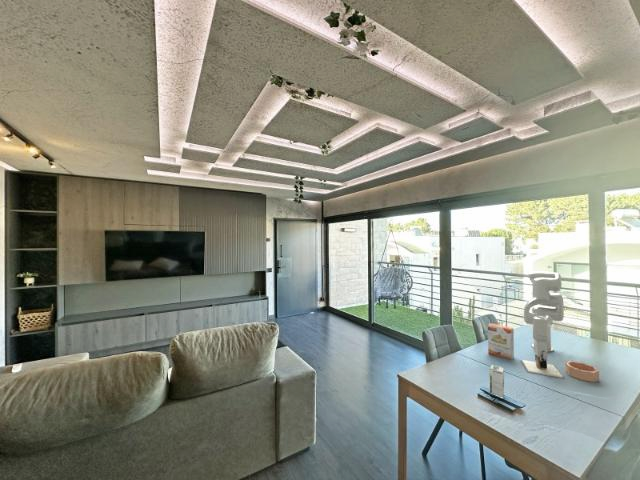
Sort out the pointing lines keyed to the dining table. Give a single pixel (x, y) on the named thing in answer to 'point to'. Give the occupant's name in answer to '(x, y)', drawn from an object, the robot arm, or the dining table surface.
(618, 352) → the dining table surface
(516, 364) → the dining table surface
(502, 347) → the cracker box
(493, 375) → the syrup box
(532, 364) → the lid
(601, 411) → the dining table surface
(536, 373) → the mat
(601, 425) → the dining table surface
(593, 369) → the bowl
